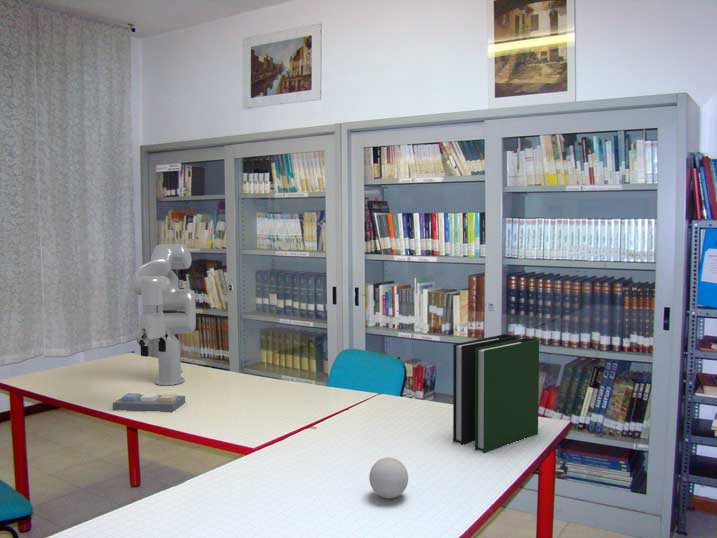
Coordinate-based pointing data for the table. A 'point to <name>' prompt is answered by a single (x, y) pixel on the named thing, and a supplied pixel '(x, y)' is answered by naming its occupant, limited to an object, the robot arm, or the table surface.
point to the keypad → (149, 405)
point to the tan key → (168, 398)
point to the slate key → (131, 397)
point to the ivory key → (149, 397)
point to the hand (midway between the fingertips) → (153, 353)
